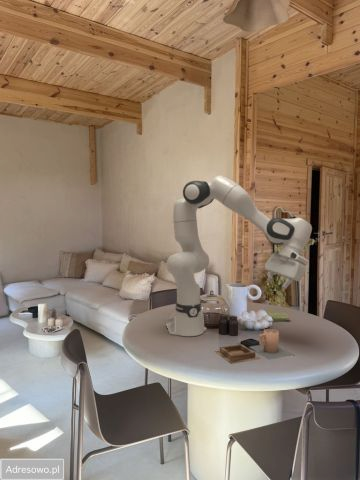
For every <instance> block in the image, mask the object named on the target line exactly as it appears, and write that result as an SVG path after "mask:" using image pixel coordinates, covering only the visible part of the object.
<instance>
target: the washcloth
mask: <svg viewBox="0 0 360 480" xmlns="http://www.w3.org/2000/svg"><path fill="white" fill-rule="evenodd" d="M266 312H267V314H268V315H269V316H271V317H272V319H273V322H291V321H292V319H291V317H290V316H289V315H288V314H287V313H286V312H284V311H279V310H275V311H266Z"/></svg>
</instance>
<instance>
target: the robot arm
mask: <svg viewBox="0 0 360 480" xmlns="http://www.w3.org/2000/svg"><path fill="white" fill-rule="evenodd" d="M182 196H183V198H179V199H177V200H176V201H175V202H174V205H173V214H172V216H173V218H172V219H173V230H174V239H175V241H176V242H177V243H178V244H179V245H180V247H181V250H182V251H179V252H175V253H174V254H171V255H170V256H168V258H167V260H166V268H167V271H168V272H169V274H171V275H172V277H173V279H174V282H175V286H176V302H175V308H174V309H175V310H174V311H173V312H172V313H171V314H170V316H169V317H168V322H166V323H165V326H167V327H166V328H168V329H167V330H168V333H169V335H172V336H174V335H175V336H180V337H181V336H182V337H195V336H200V335H202V334H204V332H206V331H207V327H206V326H205V319H204V317H205V316H204V313H203V312H202V303H201V286H200V285H199V284H198V283H197V282H196V278H195V274H196V273H197V274H198V273H201V272H203V271H204V270H206V269H207V268H208V267H209V265H210V256H209V255H208V254H207V252H206V251H205V250H204V249H203V246H202V243H201V241H200V240H201V239H200V238H199V231H198V218H197V210H198V209H202V208H204V207H206V206H208V205H210V204H211V203H213V202H214V200H216V201H218V202H219V203H221V204H222V205H223V206H224V207H225V208H227V209H229V210H231V211H232V212H234V213H236V214H238V215H240V216H242V217H243V218H244V219H247V220H248V221H249V222H250V223H251V224H253V225H254V226H255V227H257V228H258V229H259V230H260V231H262V232H263V234H264V236H265V238H266V239H267V241H268V243H271V244H272V245H275V246H279V245H280V246H281V245H282V246H281V247H280V250H279V251H275V252H273V253H272V254H271V255H270V256H269V257H268V259H267V261H266V262H265V265H264V269H265V270H266V271H268V272H267V273H268V275H267V276H268V278H267V281H266V282H268V283H271V284H272V283H273V281H274V278H273V276H275V274H276V275H278V276H281V277H285V278H286V279H285V280H286V281H284V282H282V284H281V288H283V289H285V290H287V288H288V286H290V284H291V283H293V281H296V282H300V281H301V280H302V279H303V277H304V275H305V272H306V270H307V269H306V268H307V267H306V266H308V264H309V259H307V258H305V257H304V255H303V253H304V249H305V247H306V245H307V244H308V242H309V240H310V237H311V235H312V234H311V233H312V232H313V231H312V230H313V227H312V224H311V223H310V222H309V221H308V220H307V219H305V218H302V217H295V218H282V217H274V218H269V217H268V216H266V215H265V214H264V213H263V212H261V211H260V210H259V209H258V208H257V207H256V206H255V204H254V202H253V200H252V198H251V196H250V194H249V193H248V192H247V191H246V190H245V189H244V188H243V187H242V186H241V185H240V184H239V183H237V182H235V181H233V180H232V179H230V178H228V177H225V176H224V175H221V174H220V175H216V176H214V177H213V178H211V180H210V181H209V182H207V181H205V180H203V181H202V180H201V181H200V180H191V181H188V182H187V183H186V184H185V185H184V187H183V189H182Z"/></svg>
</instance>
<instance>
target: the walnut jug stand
mask: <svg viewBox="0 0 360 480" xmlns="http://www.w3.org/2000/svg"><path fill="white" fill-rule="evenodd" d="M214 353H215V354H217V355H219V356H220V357H221V358H222V359H224V360H225V361H227V362H228V363H229V364H230V365H233V364H237V363H238V364H239V363H243V362H249V361H250V362H251V361H256V360H260V359H261V357H260V356H257V355H256V351H255V352H254V350H253V349H251V348H250V347H247V346H246V345H244V344H243V343H241V344H233V345H232V344H231V345H227V346H226V345H225V346H220V347H219V350H215V351H214Z"/></svg>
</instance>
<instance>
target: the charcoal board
mask: <svg viewBox="0 0 360 480" xmlns="http://www.w3.org/2000/svg"><path fill="white" fill-rule="evenodd" d="M249 349H250V350H252V351H253V352H254V351H255V353H256V352H257V354H259V355H261V356H263V357H264V358H266V359H267V360H273V359H278V358H284V357H289V356H290V357H291V356H293V357H295V354H294V353H292V352H291V351H288V350H287V349H285V348H283V347H281V346H279V345H278V352H277V353H267V352H265V351H264V350H263V349H264V345H260V344H258V345H257V344H256V345H252V346H249Z"/></svg>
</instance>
